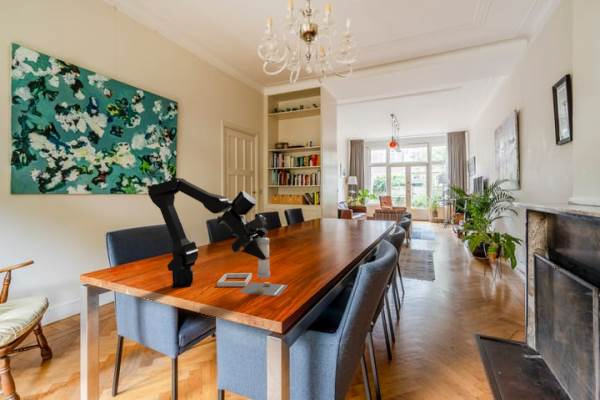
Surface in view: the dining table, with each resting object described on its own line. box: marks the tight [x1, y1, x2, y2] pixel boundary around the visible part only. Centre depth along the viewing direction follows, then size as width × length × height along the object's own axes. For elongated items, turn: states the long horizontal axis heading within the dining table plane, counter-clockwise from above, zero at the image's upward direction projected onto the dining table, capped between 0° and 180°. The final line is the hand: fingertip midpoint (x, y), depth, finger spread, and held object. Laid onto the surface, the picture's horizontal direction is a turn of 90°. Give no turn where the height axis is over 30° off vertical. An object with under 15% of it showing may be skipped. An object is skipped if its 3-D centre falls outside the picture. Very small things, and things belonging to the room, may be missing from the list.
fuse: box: [257, 237, 271, 279], centre depth 93 cm, size 4×4×13 cm
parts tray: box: [216, 272, 253, 287], centre depth 101 cm, size 10×10×2 cm
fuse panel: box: [238, 281, 288, 297], centre depth 93 cm, size 14×10×2 cm
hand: (267, 257), depth 93 cm, fingers closed on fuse, 4 cm apart
